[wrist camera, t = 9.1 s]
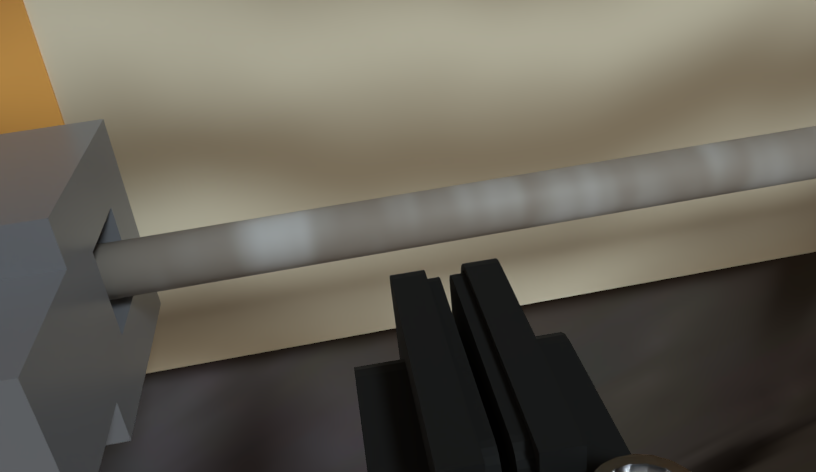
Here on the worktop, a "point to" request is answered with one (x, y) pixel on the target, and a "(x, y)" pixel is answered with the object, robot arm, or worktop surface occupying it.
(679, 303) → the worktop surface
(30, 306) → the sleeve
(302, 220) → the rail
